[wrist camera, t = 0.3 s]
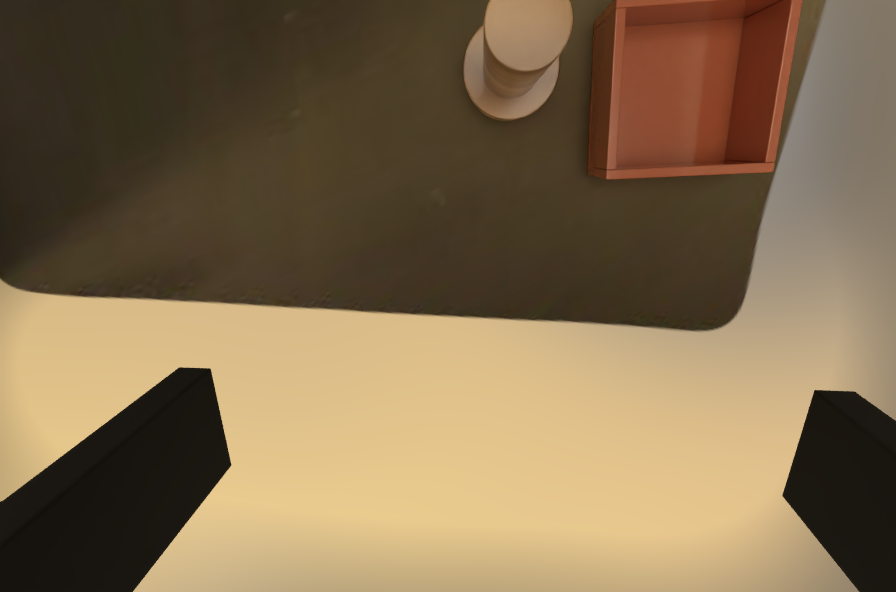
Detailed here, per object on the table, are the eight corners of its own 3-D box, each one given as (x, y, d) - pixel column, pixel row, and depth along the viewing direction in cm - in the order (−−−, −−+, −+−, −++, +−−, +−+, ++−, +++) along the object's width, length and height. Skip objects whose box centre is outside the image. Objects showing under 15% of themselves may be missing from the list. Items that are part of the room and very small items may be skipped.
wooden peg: (463, 31, 32) (448, -62, 18) (552, 24, 31) (611, -76, 17) (466, 124, 34) (455, 109, 20) (550, 120, 33) (602, 101, 19)
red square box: (593, 21, 31) (616, -4, 26) (749, 10, 30) (806, -19, 25) (586, 174, 34) (606, 179, 29) (727, 168, 33) (773, 172, 28)
